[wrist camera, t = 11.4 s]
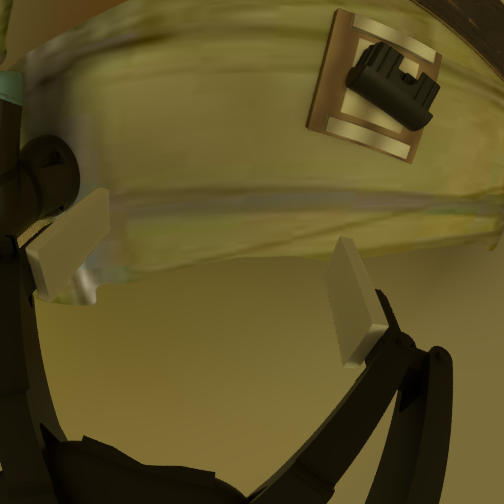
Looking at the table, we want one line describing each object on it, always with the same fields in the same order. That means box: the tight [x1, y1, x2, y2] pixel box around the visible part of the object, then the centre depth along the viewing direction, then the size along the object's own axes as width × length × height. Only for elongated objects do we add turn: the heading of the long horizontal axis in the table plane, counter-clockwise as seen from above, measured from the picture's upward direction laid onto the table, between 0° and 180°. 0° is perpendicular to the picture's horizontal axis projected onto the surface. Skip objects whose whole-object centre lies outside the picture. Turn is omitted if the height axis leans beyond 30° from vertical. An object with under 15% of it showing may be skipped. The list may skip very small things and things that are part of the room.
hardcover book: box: [412, 0, 504, 81], centre depth 20 cm, size 16×23×2 cm
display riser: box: [306, 8, 442, 164], centre depth 30 cm, size 16×18×4 cm
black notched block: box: [345, 42, 440, 131], centre depth 27 cm, size 10×7×7 cm
